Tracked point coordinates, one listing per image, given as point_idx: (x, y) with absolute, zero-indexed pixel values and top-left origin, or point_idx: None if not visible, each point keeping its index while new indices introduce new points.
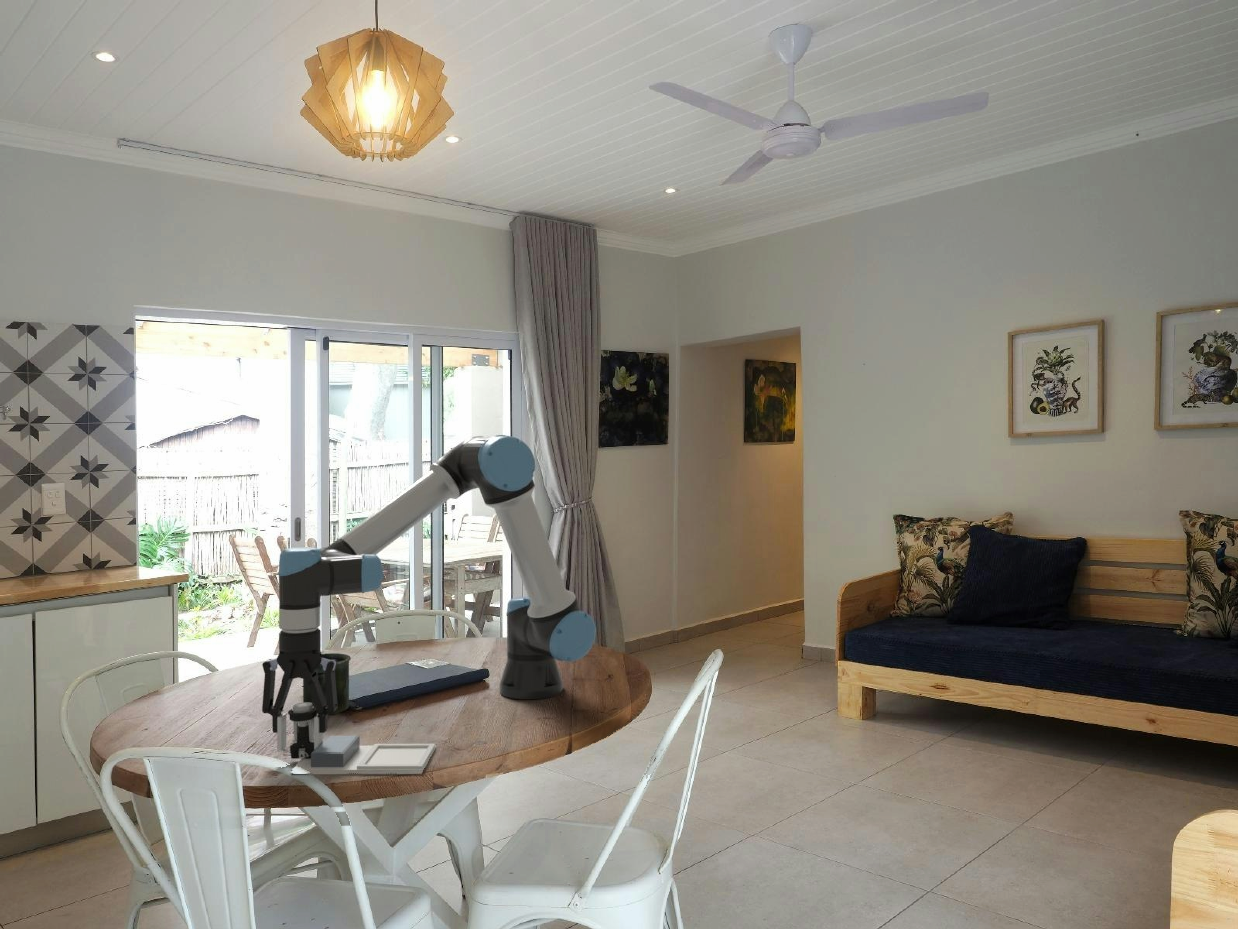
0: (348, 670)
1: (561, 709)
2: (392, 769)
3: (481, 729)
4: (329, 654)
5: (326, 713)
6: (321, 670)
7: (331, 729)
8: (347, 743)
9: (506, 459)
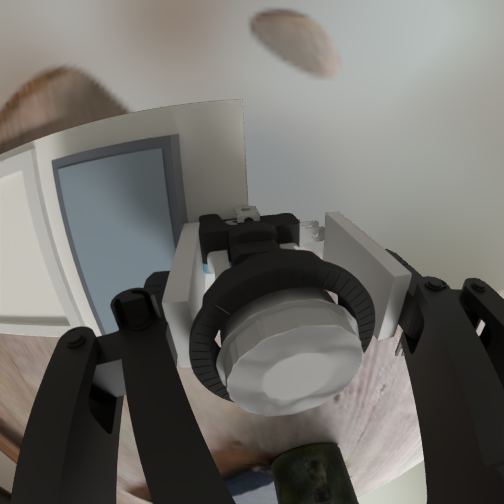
0: None
1: (8, 435)
2: None
3: (18, 402)
4: None
5: (117, 335)
6: None
7: (266, 417)
8: (88, 268)
9: None
